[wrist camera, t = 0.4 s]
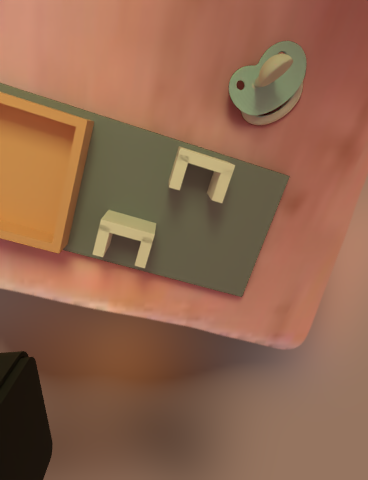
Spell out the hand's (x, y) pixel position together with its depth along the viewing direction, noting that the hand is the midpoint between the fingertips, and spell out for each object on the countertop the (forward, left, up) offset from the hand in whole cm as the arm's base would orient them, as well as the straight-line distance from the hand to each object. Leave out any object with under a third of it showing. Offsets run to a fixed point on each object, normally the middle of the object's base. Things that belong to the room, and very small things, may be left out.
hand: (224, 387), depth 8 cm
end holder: (+2, -16, -26) cm, 31 cm away
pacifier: (-12, +5, -28) cm, 31 cm away
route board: (+2, -7, -28) cm, 29 cm away
